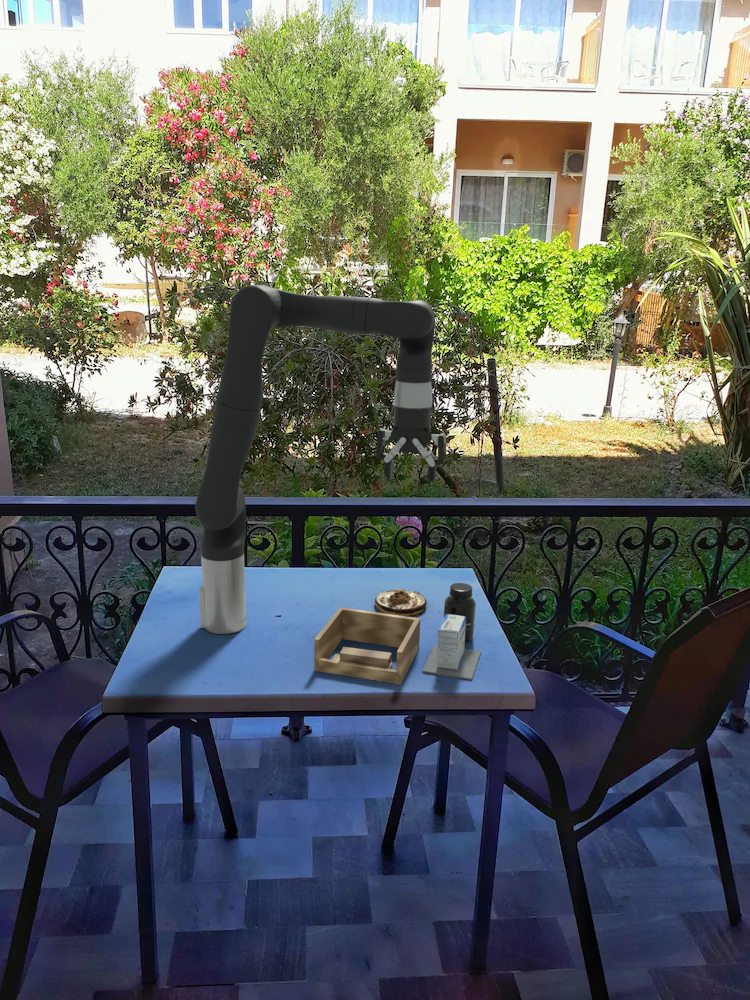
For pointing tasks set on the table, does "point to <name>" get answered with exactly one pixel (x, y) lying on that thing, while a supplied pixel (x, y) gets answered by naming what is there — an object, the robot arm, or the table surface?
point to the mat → (463, 671)
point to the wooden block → (364, 657)
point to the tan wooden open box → (370, 631)
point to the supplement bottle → (462, 606)
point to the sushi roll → (400, 602)
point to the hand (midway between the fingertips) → (409, 481)
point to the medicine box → (451, 642)
